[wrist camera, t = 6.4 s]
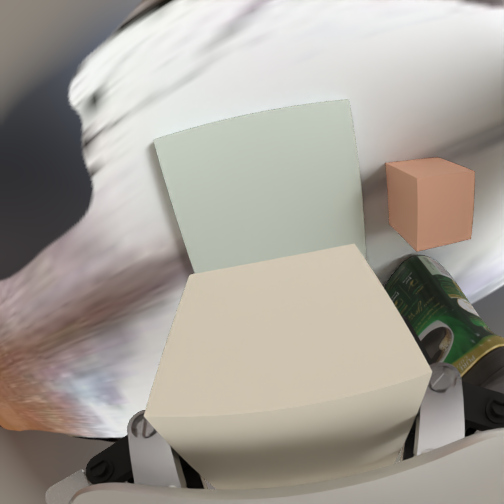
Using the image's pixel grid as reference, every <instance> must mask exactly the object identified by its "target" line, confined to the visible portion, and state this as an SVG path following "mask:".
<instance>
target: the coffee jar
mask: <svg viewBox="0 0 504 504" xmlns="http://www.w3.org/2000/svg"><path fill="white" fill-rule="evenodd" d="M384 289H385V291H386V292H387V294H388V295H389V297H390V299H391V300H392V302H393V303H394V305H395V307H396V308H397V310H398V312H399V313H400V315H401V316H402V315H404V316H406V317H407V319H408V320H409V322H410V324H411V325H412V327H413V329H414V330H415V332H416V334H417V335H418V337H419V339H420V341H421V342H422V344H423V346H424V348H425V349H426V351H427V353H428V355H429V357H430V358H431V360H432V362H433V363H438V362H445V363H449V364H451V365H453V366H454V367H456V368H457V369H458V371H459V372H460V375H461V380H462V381H463V382H467V383H470V384H473V385H476V386H480V387H483V388H486V389H490V390H493V391H497V392H500V393H503V394H504V338H502V337H501V336H498V335H496V334H494V333H493V332H492V331H491V330H490V329H489V328H488V327H487V325H486V324H485V323H484V322H483V320H482V319H481V318H480V316H479V315H478V314H477V312H476V311H475V309H474V308H473V307H472V305H471V304H470V302H469V301H468V299H467V298H466V296H465V295H464V293H463V292H462V291H461V289H460V288H459V286H458V285H457V283H456V282H455V281H454V279H453V278H452V277H451V275H450V274H449V273H448V272H447V271H446V270H445V268H444V267H443V266H442V265H440V264H439V263H438V262H437V261H435V260H434V259H432V258H430V257H427V256H424V255H417V256H413V257H410V258H408V259H407V260H406V261H404V262H403V263H402V264H401V265H400V267H399V268H398V269H397V270H396V271H395V273H394V274H393V275H392V277H391V278H390V279H389V281H388V282H387V284H386V285H385V287H384Z"/></svg>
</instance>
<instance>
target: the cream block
mask: <svg viewBox="0 0 504 504" xmlns="http://www.w3.org/2000/svg"><path fill="white" fill-rule="evenodd" d="M431 374H432V370H431V368H430V366H429V365H428V363H427V361H426V359H425V357H424V355H423V353H422V352H421V350H420V348H419V346H418V344H417V343H416V341H415V339H414V337H413V336H412V334H411V332H410V330H409V329H408V327H407V325H406V323H405V322H404V320H403V318H402V317H401V315H400V313H399V312H398V310H397V308H396V307H395V305H394V303H393V302H392V300H391V299H390V297H389V295H388V294H387V292H386V291H385V289H384V287H383V286H382V284H381V283H380V281H379V279H378V278H377V276H376V275H375V273H374V272H373V270H372V269H371V267H370V266H369V264H368V263H367V261H366V260H365V258H364V257H363V255H362V254H361V252H360V251H359V249H358V248H357V246H356V245H355V243H354V244H349V245H344V246H339V247H334V248H329V249H324V250H318V251H313V252H308V253H303V254H298V255H293V256H287V257H282V258H277V259H271V260H266V261H261V262H256V263H250V264H245V265H240V266H234V267H229V268H223V269H218V270H212V271H207V272H202V273H196V274H191V275H189V278H188V281H187V283H186V286H185V289H184V292H183V295H182V298H181V300H180V303H179V306H178V309H177V312H176V315H175V318H174V321H173V324H172V327H171V330H170V333H169V336H168V339H167V342H166V345H165V348H164V351H163V354H162V357H161V360H160V364H159V367H158V370H157V373H156V376H155V380H154V383H153V386H152V389H151V393H150V396H149V400H148V403H147V406H146V410H145V413H144V417H145V418H146V419H147V421H148V422H149V423H150V424H151V425H152V426H153V427H154V428H155V430H156V431H157V432H158V433H159V434H160V435H161V436H162V437H163V438H164V439H165V440H166V442H167V443H168V444H169V445H170V446H171V447H172V448H173V449H174V450H175V451H176V452H177V453H178V454H179V455H180V456H181V457H182V458H183V459H184V460H185V461H186V462H187V463H188V464H189V465H190V466H191V467H193V468H194V469H195V470H196V471H197V472H198V473H199V474H200V475H201V476H202V477H203V478H204V479H206V480H207V481H208V482H209V483H210V484H211V485H213V486H214V487H215V488H216V489H217V490H233V489H258V488H272V487H283V486H292V485H299V484H307V483H313V482H319V481H325V480H330V479H335V478H340V477H345V476H350V475H354V474H358V473H362V472H366V471H370V470H374V469H377V468H381V467H384V466H388V465H391V464H394V462H395V461H396V459H397V456H398V455H399V453H400V451H401V449H402V447H403V444H404V442H405V440H406V438H407V436H408V434H409V431H410V429H411V427H412V425H413V422H414V420H415V417H416V415H417V413H418V410H419V408H420V405H421V402H422V400H423V397H424V395H425V392H426V389H427V386H428V383H429V380H430V377H431Z"/></svg>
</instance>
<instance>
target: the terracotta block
mask: <svg viewBox="0 0 504 504" xmlns="http://www.w3.org/2000/svg"><path fill="white" fill-rule="evenodd" d="M385 166H386V177H387V191H388V209H389V225H390V226H391V227H392V228H393V229H395V230H396V231H397V232H398V233H399V234H400V235H401V236H402V237H403V238H404V239H405V240H406V241H407V242H408V243H409V244H410V245H411V246H412V247H413V248H414V249H415V250H416V252H418V251H422V250H426V249H431V248H435V247H439V246H443V245H448V244H452V243H456V242H460V241H464V240H468V239H471V234H472V223H473V210H474V189H475V171H473V170H470V169H468V168H465V167H463V166H460V165H458V164H455V163H452V162H450V161H447V160H444V159H441V158H439V157H435V158H424V159H415V160H406V161H397V162H389V163H385Z"/></svg>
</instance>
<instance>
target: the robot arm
mask: <svg viewBox="0 0 504 504" xmlns="http://www.w3.org/2000/svg"><path fill="white" fill-rule="evenodd" d="M401 317H402V318H403V320H404V322H405V323H406V325H407V327H408V329H409V330H410V332H411V334H412V336H413V337H414V339H415V341H416V343H417V344H418V346H419V348H420V350H421V352H422V353H423V355H424V357H425V359H426V361H427V363H428V365H429V366H430V368H431V370H432V374H431V377H430V380H429V383H428V386H427V389H426V392H425V395H424V397H423V400H422V402H421V405H420V408H419V410H418V413H417V415H416V417H415V420H414V422H413V425H412V427H411V429H410V431H409V434H408V436H407V438H406V440H405V442H404V444H403V447H402V451H401V459H400V462H397V463H394V464H391V465H388V466H384V467H381V468H377V469H374V470H370V471H366V472H362V473H358V474H354V475H350V476H345V477H340V478H335V479H330V480H325V481H319V482H313V483H307V484H299V485H292V486H283V487H272V488H258V489H233V490H213V489H208V486H207V484H206V481H205V479H204V478H203V477H202V476H201V475H200V474H199V473H198V472H197V471H196V470H195V469H194V468H193V467H191V466H190V465H189V464H188V463H187V462H186V461H185V460H184V459H183V458H182V457H181V456H180V455H179V454H178V453H177V452H176V451H175V450H174V449H173V448H172V447H171V446H170V445H169V444H168V443H167V442H166V440H165V439H164V438H163V437H162V436H161V435H160V434H159V433H158V432H157V431H156V430H155V428H154V427H153V426H152V425H151V424H150V423H149V422H148V421H147V419H146V418H145V417H144V413H145V410H142V411H140V412H138V413H136V414H135V415H134V416H133V417H132V418H131V419H130V421H129V423H128V426H127V433H128V435H126V436H125V437H123V438H122V439H120V440H119V441H117V442H116V443H114V444H113V445H112V446H110V447H108V448H107V449H105V450H104V451H102V452H101V453H99V454H98V455H96V456H94V457H93V458H92V459H91V460H90V461H89V463H88V464H87V467H86V471H83V470H80V471H78V472H76V473H74V474H73V475H71V476H69V477H67V478H65V479H64V480H62V481H60V482H59V483H57V484H55V485H53V486H51V487H50V488H49V489H48V490H47V492H46V497H45V499H46V503H47V504H504V394H503V393H500V392H497V391H493V390H490V389H486V388H483V387H480V386H476V385H473V384H470V383H467V382H463V381H462V380H461V375H460V372H459V371H458V369H457V368H456V367H454V366H453V365H451V364H449V363H445V362H438V363H433V362H432V360H431V358H430V357H429V355H428V353H427V351H426V349H425V348H424V346H423V344H422V342H421V341H420V339H419V337H418V335H417V334H416V332H415V330H414V329H413V327H412V325H411V324H410V322H409V320H408V319H407V317H406V316H404V315H402V316H401Z"/></svg>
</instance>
